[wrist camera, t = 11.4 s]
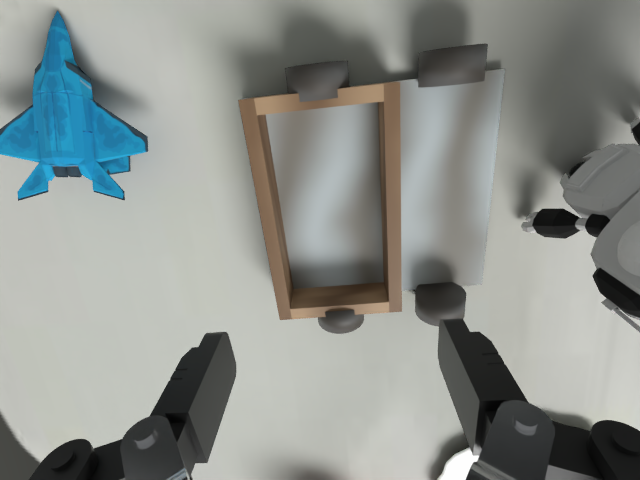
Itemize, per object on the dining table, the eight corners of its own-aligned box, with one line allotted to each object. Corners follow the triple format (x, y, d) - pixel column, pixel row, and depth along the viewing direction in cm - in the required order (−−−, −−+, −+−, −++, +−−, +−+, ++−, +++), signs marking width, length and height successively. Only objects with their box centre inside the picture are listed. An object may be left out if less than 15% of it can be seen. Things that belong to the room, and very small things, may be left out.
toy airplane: (183, 156, 27) (161, 168, 23) (98, 223, 29) (65, 244, 25) (59, 10, 23) (7, -5, 19) (-29, 100, 25) (-91, 103, 21)
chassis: (503, 44, 23) (536, 37, 19) (477, 295, 31) (497, 323, 28) (239, 75, 24) (223, 74, 21) (282, 309, 33) (276, 337, 29)
